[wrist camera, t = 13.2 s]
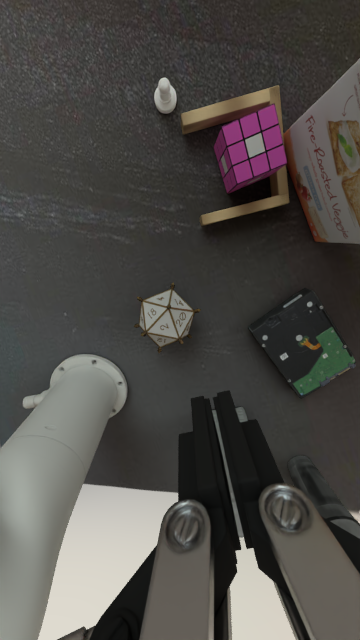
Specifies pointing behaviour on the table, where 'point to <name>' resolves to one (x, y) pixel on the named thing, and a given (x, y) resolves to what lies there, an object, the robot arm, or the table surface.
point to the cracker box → (329, 161)
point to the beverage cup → (321, 494)
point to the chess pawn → (165, 96)
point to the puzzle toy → (250, 149)
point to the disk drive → (303, 343)
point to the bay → (231, 112)
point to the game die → (165, 318)
